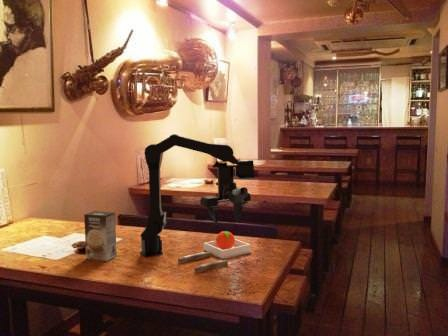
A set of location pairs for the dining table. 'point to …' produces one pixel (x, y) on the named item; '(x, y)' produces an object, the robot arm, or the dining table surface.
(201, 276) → the dining table surface
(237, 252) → the bin
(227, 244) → the clementine
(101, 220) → the coffee box
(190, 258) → the cradle
